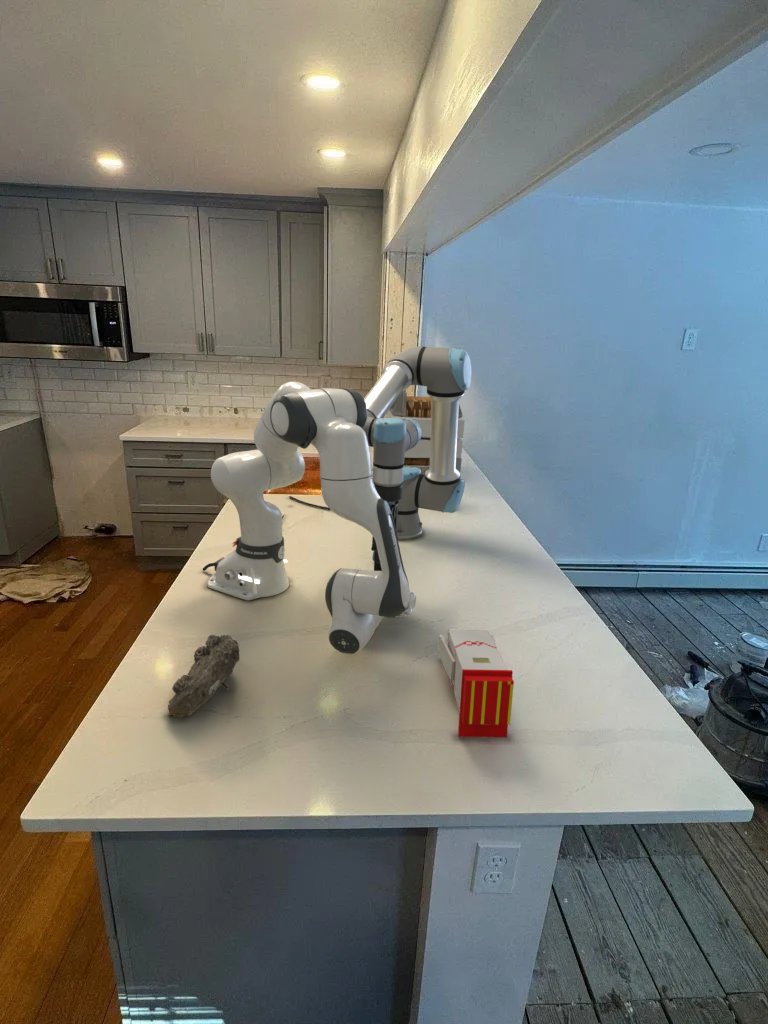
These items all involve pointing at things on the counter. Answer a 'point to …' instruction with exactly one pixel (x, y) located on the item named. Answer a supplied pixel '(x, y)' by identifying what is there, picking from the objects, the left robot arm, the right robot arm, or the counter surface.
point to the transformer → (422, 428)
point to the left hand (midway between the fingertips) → (383, 584)
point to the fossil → (204, 675)
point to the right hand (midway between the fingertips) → (383, 568)
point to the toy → (478, 682)
